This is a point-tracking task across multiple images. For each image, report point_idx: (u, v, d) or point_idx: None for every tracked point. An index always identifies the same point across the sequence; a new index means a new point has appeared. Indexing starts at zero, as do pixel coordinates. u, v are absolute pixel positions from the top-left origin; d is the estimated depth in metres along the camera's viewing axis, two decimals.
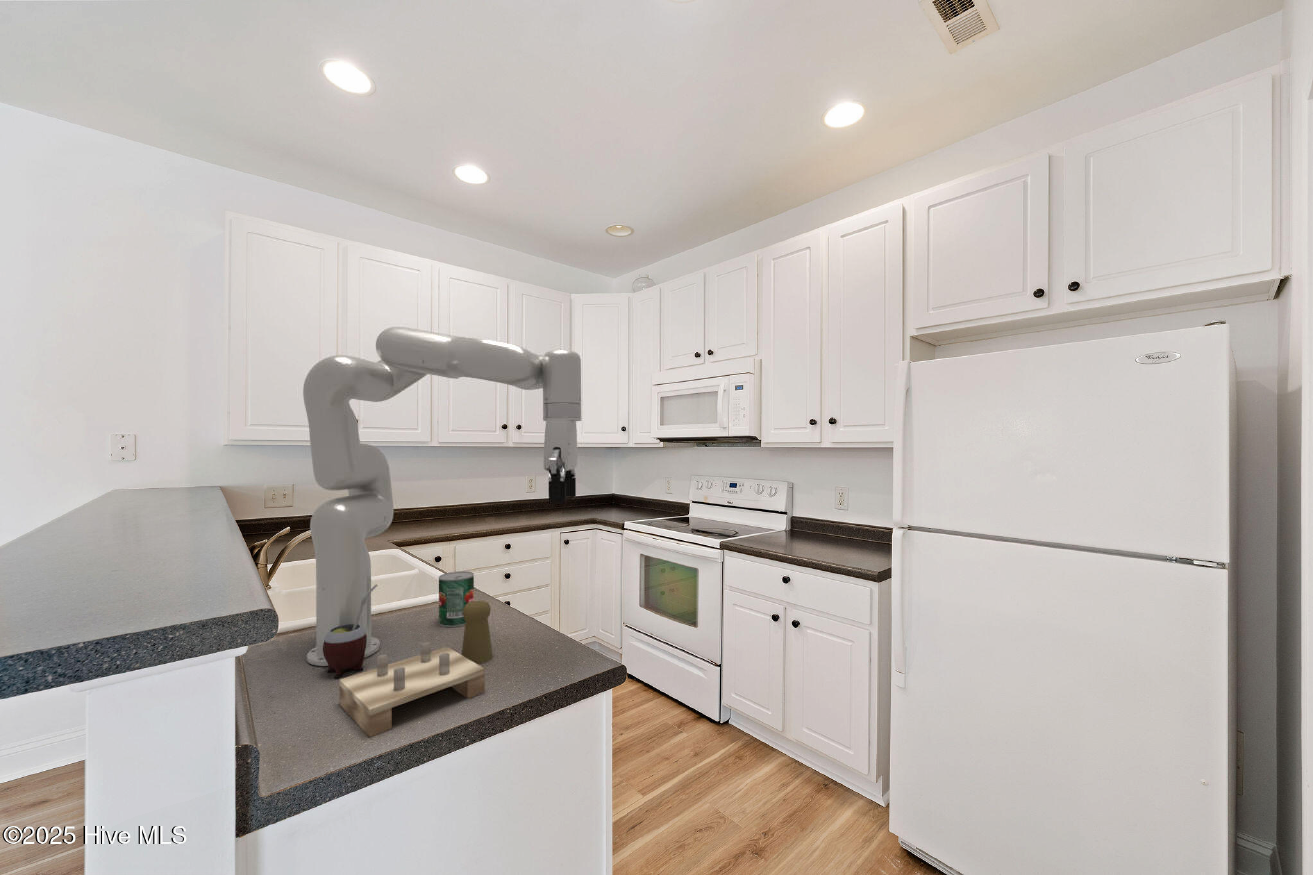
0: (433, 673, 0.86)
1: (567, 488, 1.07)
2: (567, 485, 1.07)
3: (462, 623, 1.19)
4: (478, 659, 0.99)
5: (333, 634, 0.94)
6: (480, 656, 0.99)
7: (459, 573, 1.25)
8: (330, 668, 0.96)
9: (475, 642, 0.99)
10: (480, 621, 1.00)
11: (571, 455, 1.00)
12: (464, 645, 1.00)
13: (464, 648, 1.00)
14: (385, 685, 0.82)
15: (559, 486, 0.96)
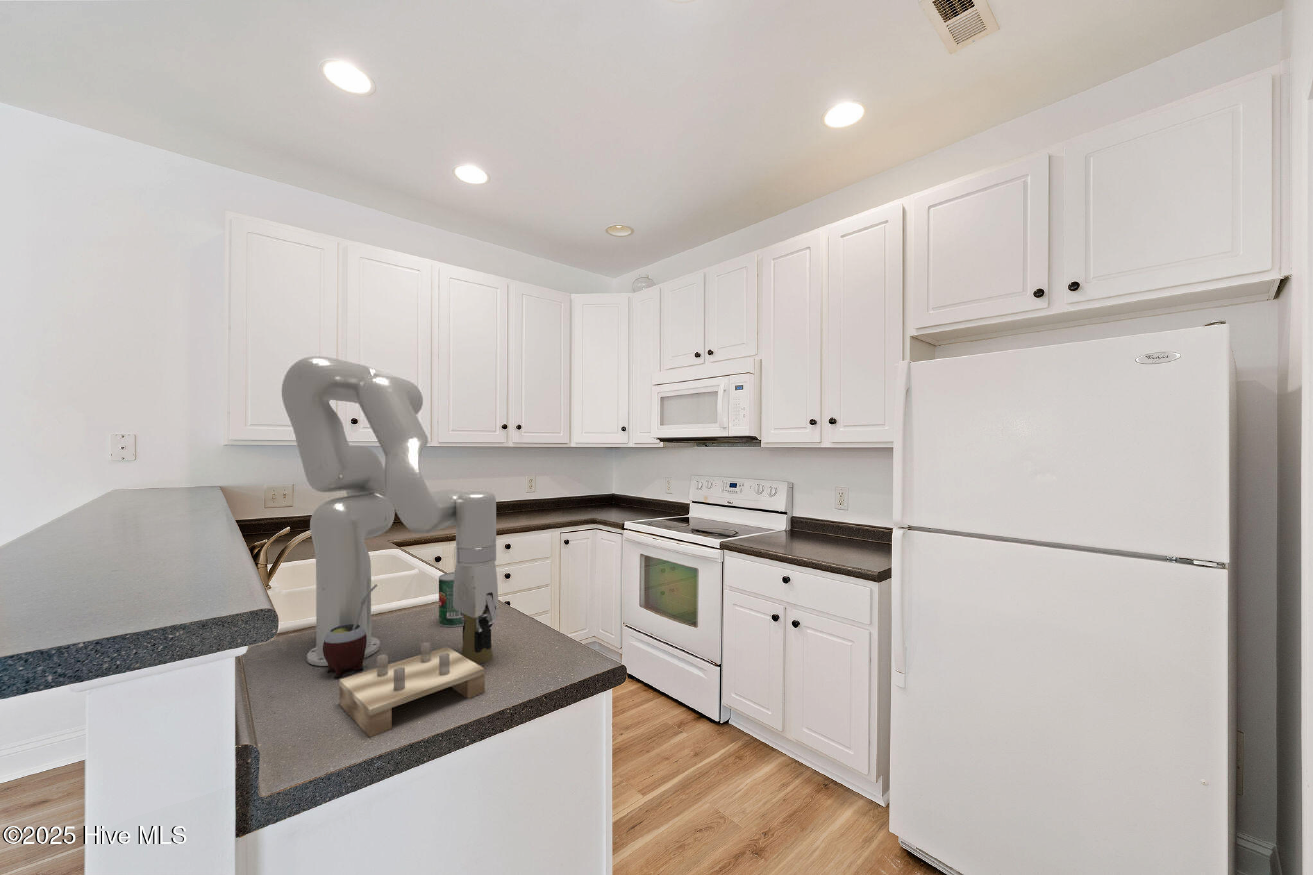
0: (433, 673, 0.86)
1: None
2: None
3: None
4: (478, 659, 0.99)
5: (333, 634, 0.94)
6: (480, 656, 0.99)
7: None
8: (330, 668, 0.96)
9: None
10: None
11: None
12: (464, 645, 1.00)
13: (464, 648, 1.00)
14: (385, 685, 0.82)
15: (488, 634, 1.00)
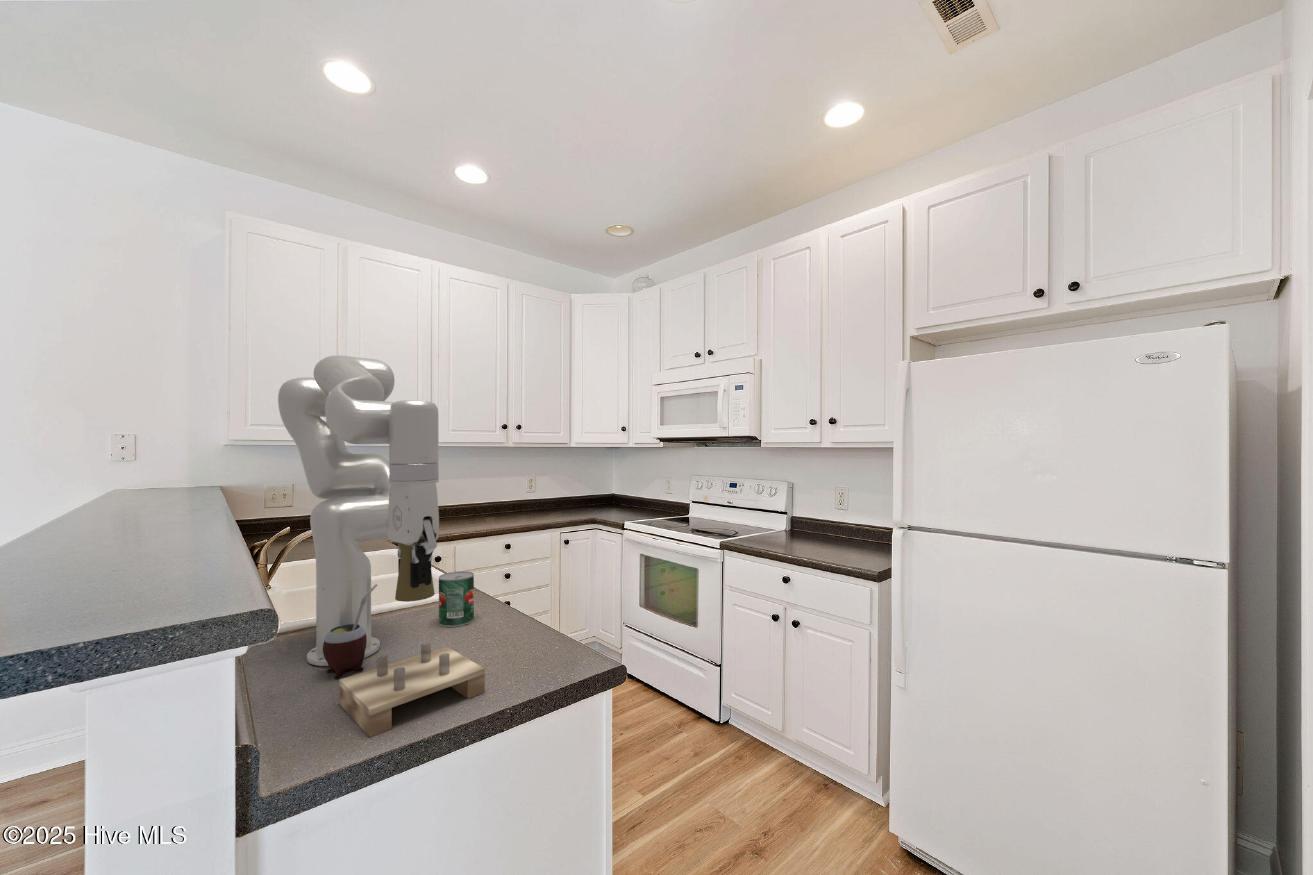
0: (433, 673, 0.86)
1: None
2: None
3: (462, 623, 1.19)
4: (415, 595, 0.84)
5: (333, 634, 0.94)
6: (418, 592, 0.84)
7: (459, 573, 1.25)
8: (330, 668, 0.96)
9: None
10: (418, 551, 0.85)
11: None
12: (399, 579, 0.84)
13: (398, 583, 0.84)
14: (385, 685, 0.82)
15: (427, 567, 0.85)
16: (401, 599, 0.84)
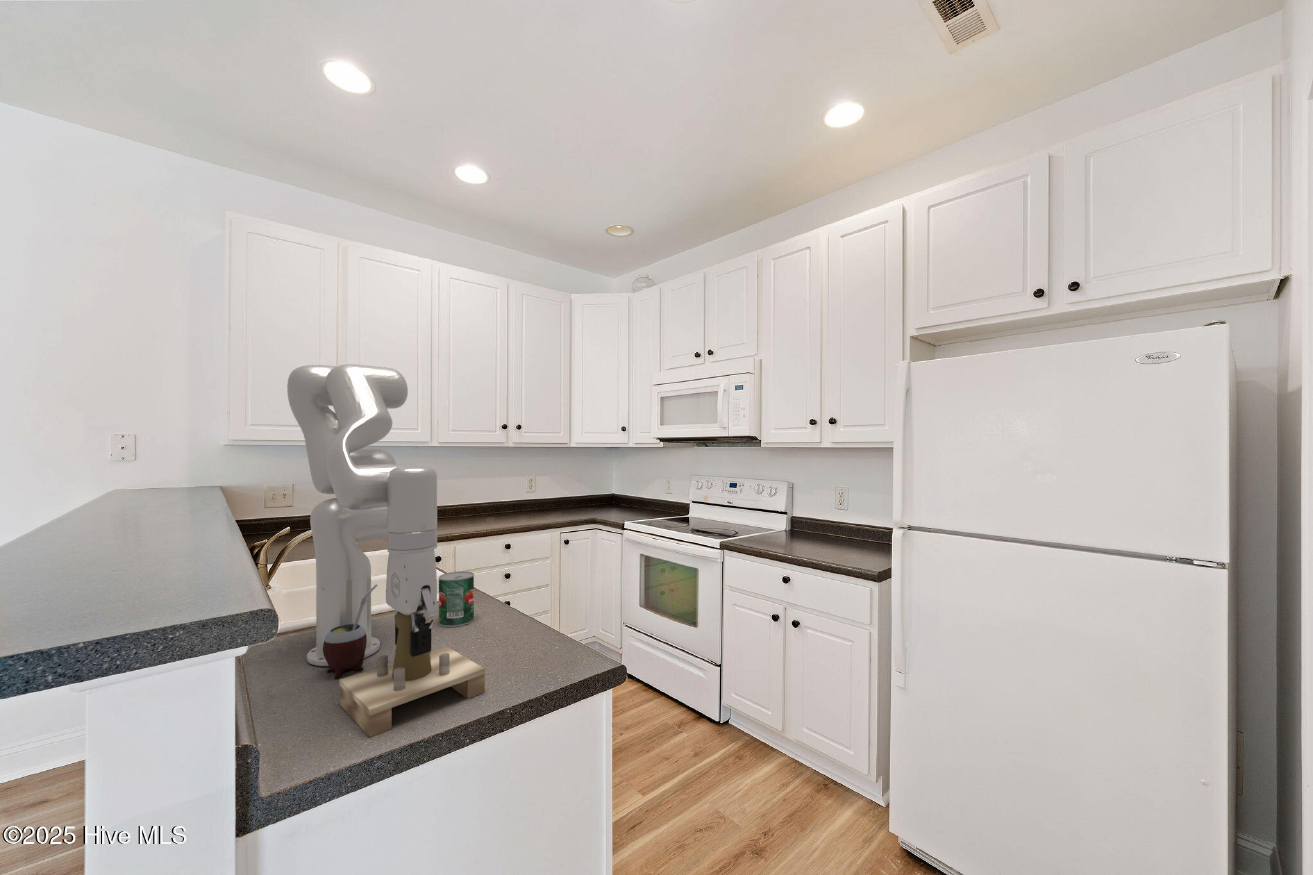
0: (433, 673, 0.86)
1: None
2: None
3: (462, 623, 1.19)
4: (412, 675, 0.84)
5: (333, 634, 0.94)
6: (414, 672, 0.84)
7: (459, 573, 1.25)
8: (330, 668, 0.96)
9: (408, 655, 0.84)
10: None
11: None
12: (396, 658, 0.84)
13: (395, 661, 0.84)
14: (385, 685, 0.82)
15: (427, 634, 0.84)
16: None
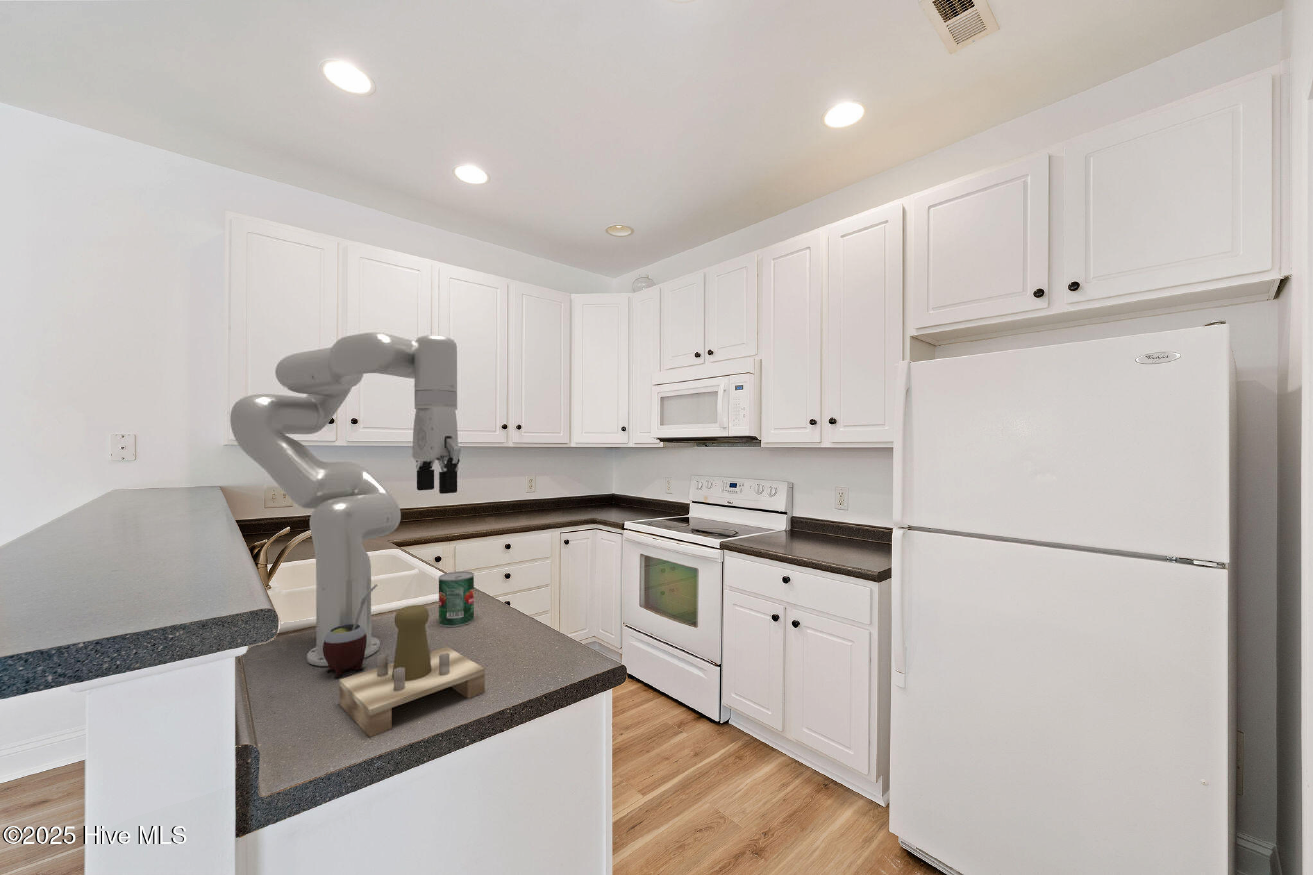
0: (433, 673, 0.86)
1: (426, 480, 1.01)
2: (426, 477, 1.01)
3: (462, 623, 1.19)
4: (412, 675, 0.84)
5: (333, 634, 0.94)
6: (414, 672, 0.84)
7: (459, 573, 1.25)
8: (330, 668, 0.96)
9: (408, 655, 0.84)
10: (414, 630, 0.85)
11: None
12: (396, 658, 0.84)
13: (395, 662, 0.84)
14: (385, 685, 0.82)
15: (453, 476, 0.95)
16: None
